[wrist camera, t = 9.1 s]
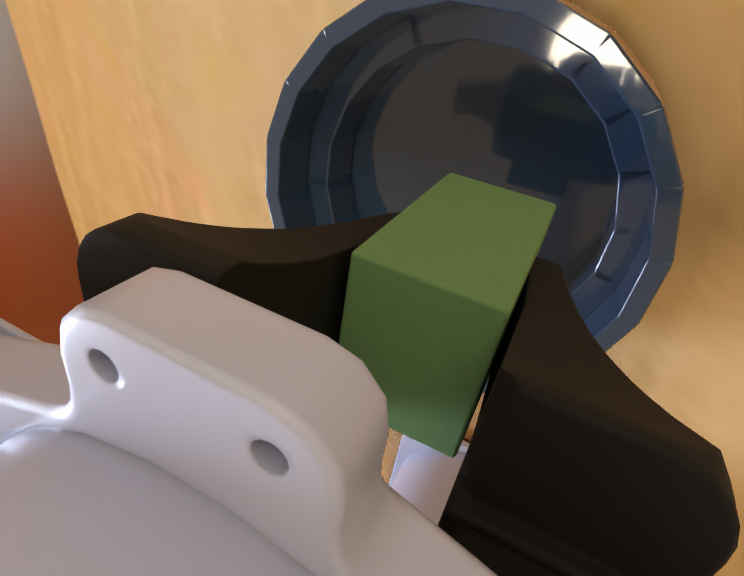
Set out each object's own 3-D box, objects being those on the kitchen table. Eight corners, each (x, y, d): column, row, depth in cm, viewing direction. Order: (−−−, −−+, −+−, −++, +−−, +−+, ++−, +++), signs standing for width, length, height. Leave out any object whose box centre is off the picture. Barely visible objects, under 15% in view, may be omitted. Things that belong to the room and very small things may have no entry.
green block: (512, 320, 14) (453, 461, 9) (421, 286, 14) (329, 399, 10) (557, 203, 12) (511, 311, 7) (449, 170, 12) (350, 251, 8)
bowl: (579, 374, 20) (567, 448, 17) (316, 270, 24) (261, 312, 21) (760, 28, 13) (806, 31, 10) (346, -41, 17) (270, -58, 14)
